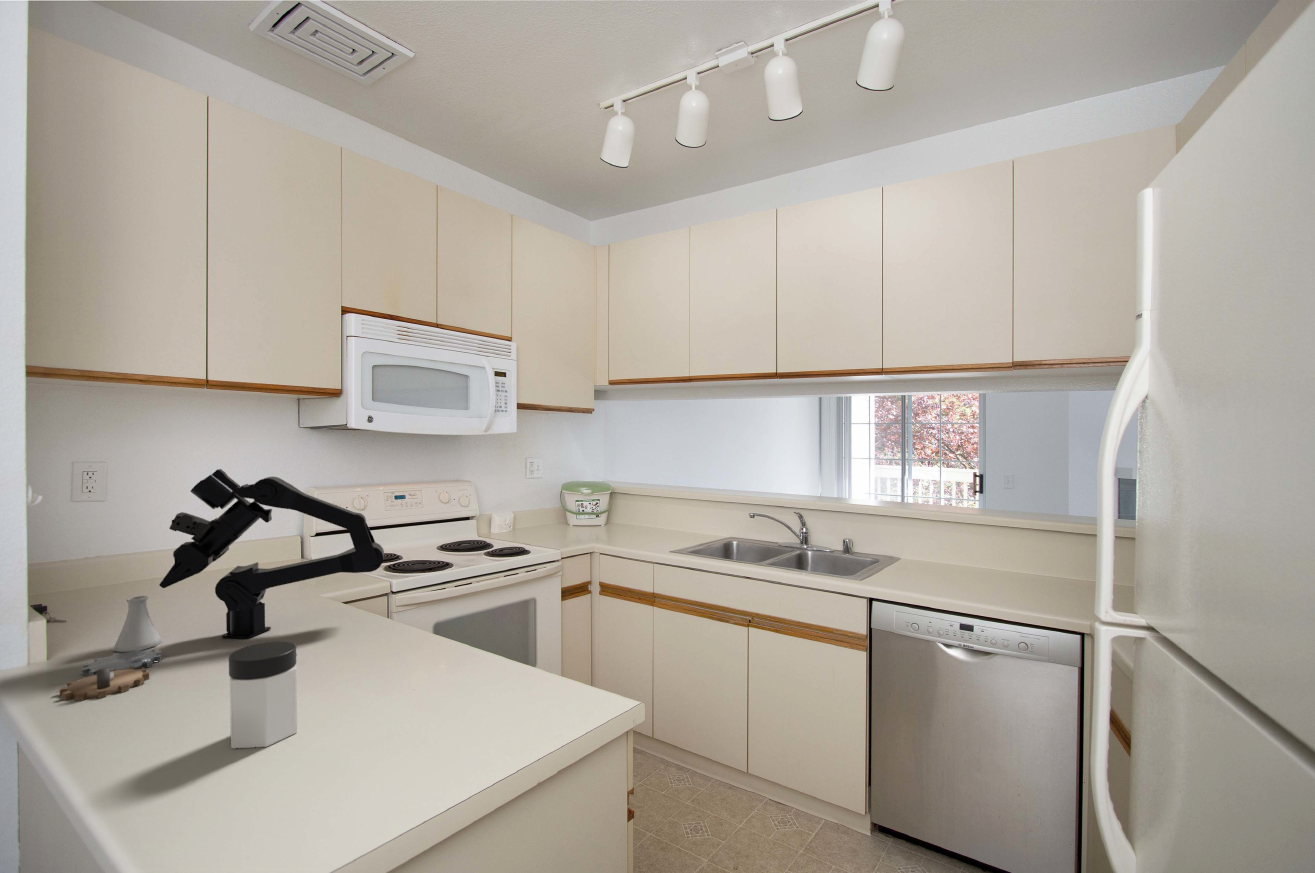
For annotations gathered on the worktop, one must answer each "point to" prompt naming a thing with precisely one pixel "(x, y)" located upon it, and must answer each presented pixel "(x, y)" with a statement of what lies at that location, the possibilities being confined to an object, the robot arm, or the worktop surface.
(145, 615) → the flask
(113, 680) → the drive gear
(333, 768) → the worktop surface
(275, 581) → the robot arm
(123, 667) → the gear
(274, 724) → the jar
